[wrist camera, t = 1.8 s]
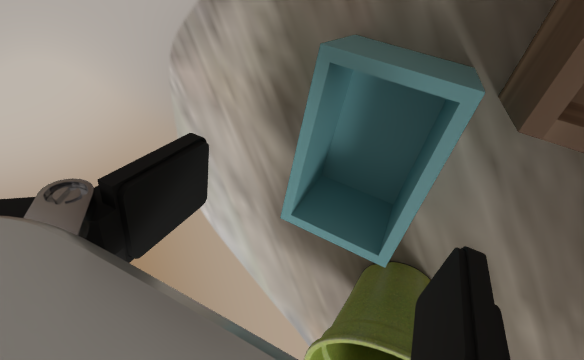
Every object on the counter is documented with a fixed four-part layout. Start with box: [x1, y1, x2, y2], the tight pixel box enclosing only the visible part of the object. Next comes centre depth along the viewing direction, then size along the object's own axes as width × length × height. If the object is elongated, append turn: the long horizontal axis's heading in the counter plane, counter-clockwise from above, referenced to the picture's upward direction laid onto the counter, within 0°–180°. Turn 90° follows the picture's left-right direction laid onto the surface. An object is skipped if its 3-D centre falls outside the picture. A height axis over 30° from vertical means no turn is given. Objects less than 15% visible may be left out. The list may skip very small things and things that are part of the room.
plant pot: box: [304, 262, 430, 360], centre depth 21 cm, size 9×9×9 cm
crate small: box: [280, 35, 485, 268], centre depth 17 cm, size 7×10×6 cm, turn 168°
